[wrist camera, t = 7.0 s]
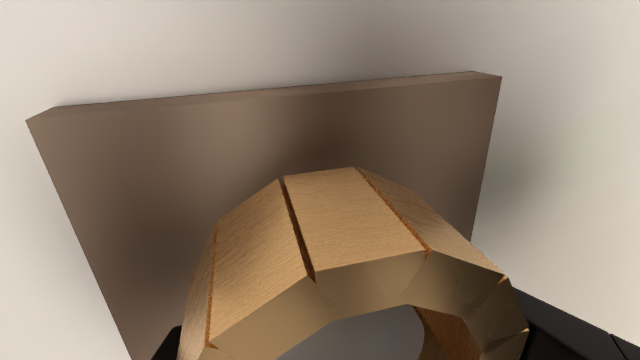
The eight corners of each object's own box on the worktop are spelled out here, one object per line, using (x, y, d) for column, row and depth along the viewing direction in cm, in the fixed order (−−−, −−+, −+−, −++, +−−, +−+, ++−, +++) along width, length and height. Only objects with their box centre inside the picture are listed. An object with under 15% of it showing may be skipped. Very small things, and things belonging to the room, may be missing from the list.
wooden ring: (448, 153, 9) (566, 221, 6) (423, 338, 12) (490, 447, 9) (164, 192, 7) (114, 311, 4) (219, 390, 10) (214, 541, 7)
